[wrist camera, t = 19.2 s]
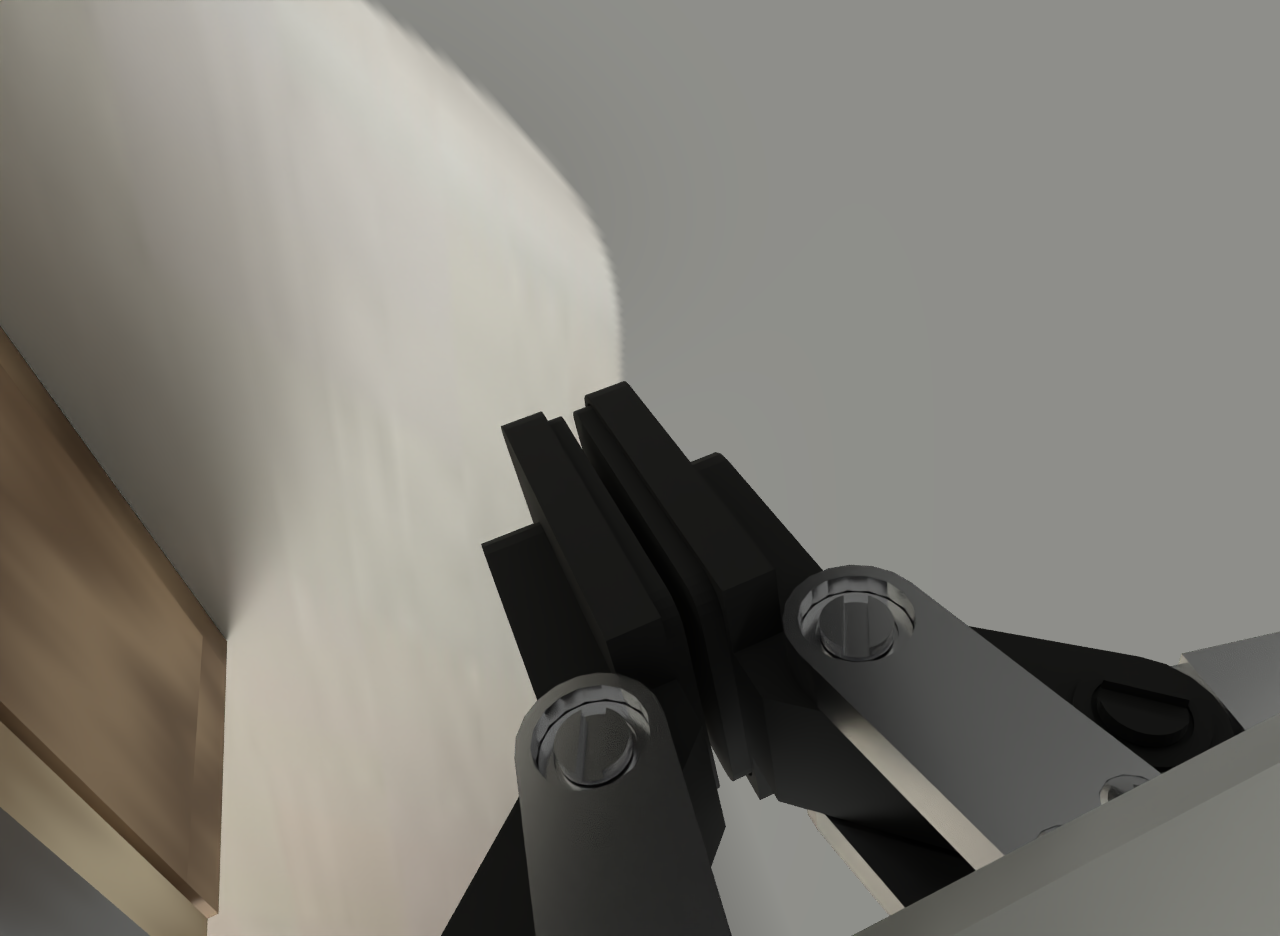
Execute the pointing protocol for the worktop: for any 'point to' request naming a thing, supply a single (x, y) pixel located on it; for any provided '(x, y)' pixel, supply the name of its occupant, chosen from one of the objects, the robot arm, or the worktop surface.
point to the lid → (74, 863)
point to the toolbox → (105, 646)
